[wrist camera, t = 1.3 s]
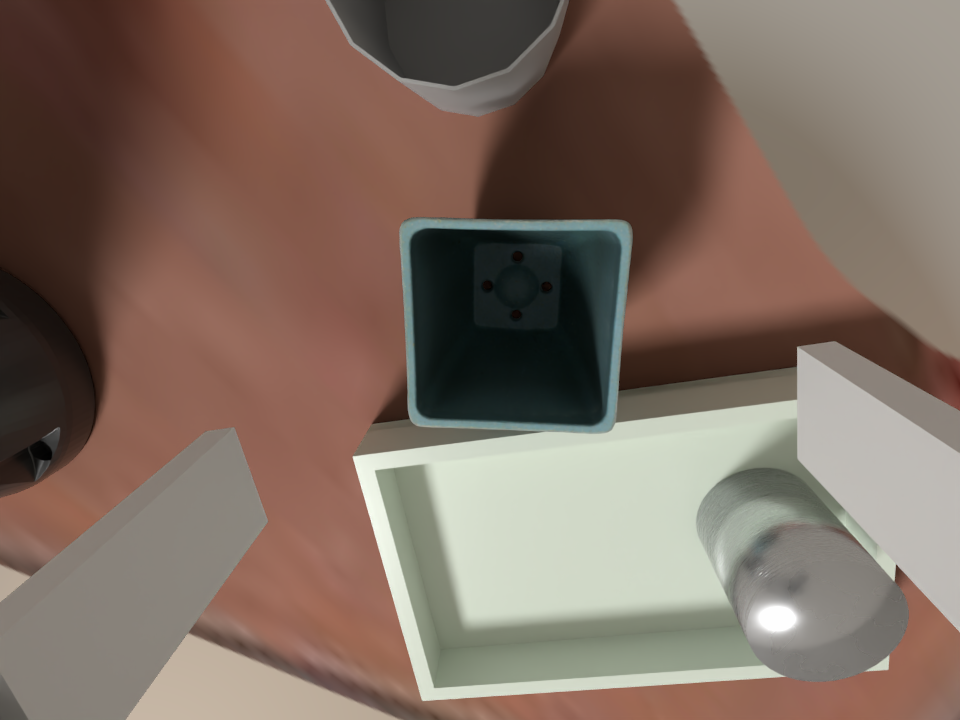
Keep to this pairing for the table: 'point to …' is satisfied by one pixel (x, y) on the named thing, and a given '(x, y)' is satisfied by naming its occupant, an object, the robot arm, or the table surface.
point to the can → (798, 578)
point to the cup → (457, 46)
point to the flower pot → (514, 322)
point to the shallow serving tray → (577, 541)
